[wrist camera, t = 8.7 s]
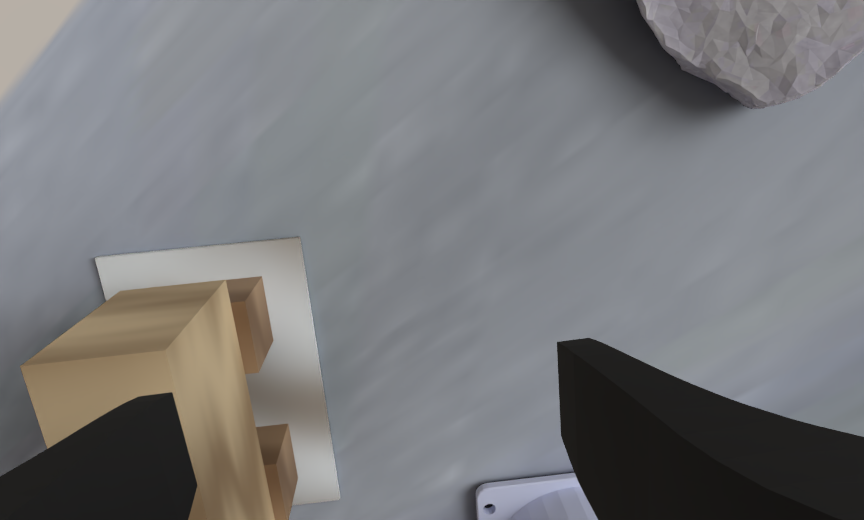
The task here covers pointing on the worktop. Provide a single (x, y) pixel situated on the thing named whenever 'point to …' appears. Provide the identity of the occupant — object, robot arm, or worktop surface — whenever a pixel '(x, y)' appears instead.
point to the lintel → (162, 385)
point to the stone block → (759, 43)
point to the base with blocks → (259, 351)
